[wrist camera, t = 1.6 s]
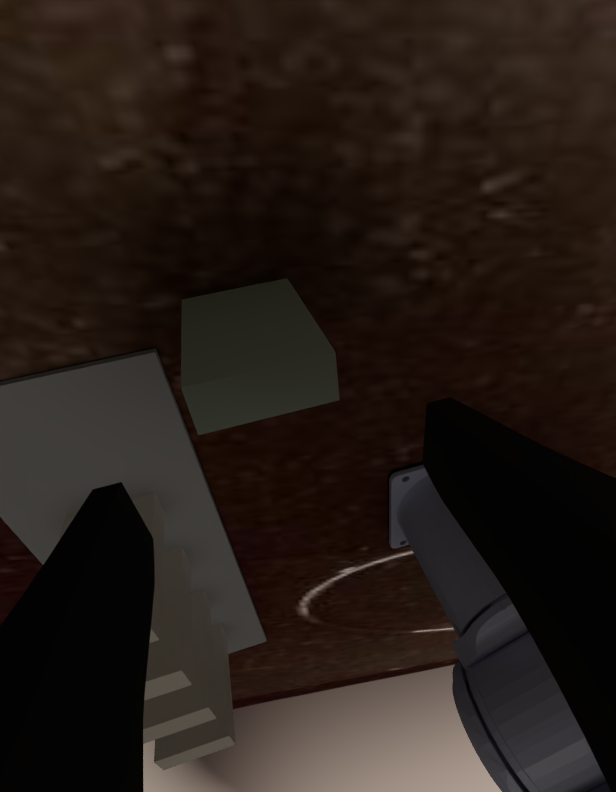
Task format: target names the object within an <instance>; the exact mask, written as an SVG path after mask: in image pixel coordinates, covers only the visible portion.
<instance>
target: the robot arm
mask: <svg viewBox="0 0 616 792" xmlns="http://www.w3.org/2000/svg"><path fill="white" fill-rule="evenodd" d="M389 544H390V546H391V548H399V547H402V546H405V545H410V547H411V549H412V551H413V552H414V554H415V556H416V558H417V560H418V562H419V564H420V566H421V568H422V569H423V571H424V573H425V575H426V577H427V579H428V581H429V583H430V585H431V586H432V588H433V590H434V592H435V594H436V596H437V598H438V600H439V601H440V603H441V605H442V607H443V609H444V611H445V613H446V615H447V617H448V618H449V620H450V622H451V624H452V626H453V628H454V630H455V632H456V633H457V635H458V637H459V639H458V640H456V641H455V642H453V643H452V646H453V648H454V650H455V652H456V654H457V656H458V658H459V660H460V662H458V663H456V665H455V666H454V668H453V695H454V700H455V704H456V707H457V710H458V713H459V716H460V719H461V721H462V724H463V726H464V728H465V730H466V733H467V735H468V737H469V739H470V741H471V743H472V745H473V747H474V749H475V751H476V753H477V754H478V756H479V757H480V760H481V761H482V763H483V765H484V766H485V768H486V769H487V771H488V773H489V774H490V776H491V777H492V778H493V780H494V781H495V783H496V784H497V785H498V787H499V788H500V789H501V791H502V792H616V478H614V477H611V476H609V475H607V474H604V473H602V472H600V471H597V470H595V469H593V468H590V467H588V466H586V465H584V464H582V463H579V462H577V461H575V460H573V459H571V458H568V457H566V456H564V455H562V454H560V453H558V452H556V451H554V450H551V449H549V448H547V447H545V446H543V445H541V444H539V443H537V442H535V441H533V440H531V439H529V438H527V437H525V436H523V435H521V434H519V433H518V432H516V431H514V430H512V429H510V428H508V427H506V426H504V425H502V424H500V423H499V422H497V421H495V420H493V419H491V418H489V417H487V416H485V415H484V414H482V413H480V412H478V411H476V410H474V409H472V408H470V407H468V406H466V405H465V404H463V403H461V402H459V401H457V400H455V399H452V398H450V397H449V398H446V399H442V400H438V401H434V402H430V403H427V408H426V422H425V436H424V449H423V465H420V466H416V467H413V468H409V469H405V470H402V471H398V472H395V473H393V474H392V475H391V476H390V479H389ZM154 587H155V566H154V541H153V537H152V535H151V533H150V532H149V530H148V528H147V526H146V525H145V523H144V521H143V519H142V517H141V516H140V514H139V512H138V510H137V509H136V507H135V505H134V503H133V501H132V500H131V498H130V496H129V494H128V493H127V491H126V489H125V487H124V486H123V484H122V482H119V483H116V484H112V485H108V486H104V487H100V488H96V489H93V490H92V491H91V493H90V494H89V496H88V497H87V499H86V500H85V502H84V503H83V505H82V506H81V508H80V509H79V511H78V512H77V514H76V515H75V517H74V519H73V520H72V522H71V523H70V525H69V526H68V528H67V529H66V531H65V533H64V534H63V536H62V537H61V539H60V540H59V542H58V543H57V545H56V546H55V548H54V550H53V551H52V553H51V554H50V556H49V557H48V559H47V560H46V562H45V563H44V565H43V566H42V568H41V569H40V570H39V572H38V573H37V575H36V576H35V578H34V579H33V581H32V582H31V584H30V585H29V587H28V588H27V590H26V591H25V593H24V594H23V596H22V597H21V598H20V600H19V601H18V602H17V604H16V605H15V607H14V608H13V609H12V611H11V612H10V613H9V615H8V616H7V618H6V619H5V620H4V622H3V623H2V625H1V626H0V792H143V714H144V697H145V685H146V674H147V664H148V653H149V643H150V632H151V622H152V610H153V599H154Z"/></svg>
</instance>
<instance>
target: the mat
mask: <svg viewBox="0 0 616 792" xmlns="http://www.w3.org/2000/svg"><path fill="white" fill-rule="evenodd" d="M119 482H122V484H123V486H124V487H125V489H126V491H127V493H128V494H129V496H130V498H131V499H132V498H135V497H139V496H143V495H147V494H150V493H154V492H155V494H156V496H157V498H158V500H159V502H160V504H161V506H162V508H163V510H164V512H165V532H164V551H167V550H171V549H174V548H178V547H181V546H182V547H183V549H184V551H185V553H186V555H187V557H188V559H189V561H190V578H191V593H192V592H195V591H198V590H202V589H204V591H205V593H206V595H207V597H208V599H209V601H210V609H211V626H215V625H218V624H221V625H222V627H223V629H224V631H225V633H226V636H227V648H228V654H229V653H232V652H235V651H238V650H241V649H244V648H247V647H250V646H254V645H257V644H260V643H263V642H266V641H267V640H266V635H265V632H264V630H263V627H262V625H261V622H260V619H259V617H258V614H257V612H256V609H255V606H254V604H253V601H252V598H251V596H250V593H249V591H248V588H247V585H246V583H245V580H244V578H243V575H242V572H241V570H240V567H239V564H238V562H237V559H236V557H235V554H234V551H233V549H232V546H231V544H230V541H229V538H228V536H227V533H226V530H225V528H224V525H223V523H222V520H221V517H220V515H219V512H218V510H217V507H216V504H215V502H214V499H213V496H212V494H211V491H210V489H209V486H208V483H207V481H206V478H205V476H204V473H203V470H202V468H201V465H200V462H199V460H198V457H197V455H196V452H195V449H194V447H193V444H192V442H191V439H190V436H189V434H188V431H187V428H186V426H185V423H184V421H183V418H182V415H181V413H180V410H179V408H178V405H177V402H176V400H175V397H174V394H173V392H172V389H171V387H170V384H169V381H168V379H167V376H166V374H165V371H164V368H163V366H162V363H161V360H160V358H159V355H158V353H157V350H156V348H154V349H149V350H144V351H140V352H135V353H130V354H126V355H121V356H117V357H112V358H107V359H103V360H98V361H93V362H89V363H84V364H80V365H75V366H70V367H66V368H61V369H56V370H52V371H47V372H43V373H38V374H33V375H29V376H24V377H19V378H15V379H10V380H6V381H1V382H0V517H1V518H2V519H3V520H4V522H5V523H6V524H7V525H8V526H9V527H10V528H11V529H12V531H13V532H14V533H15V534H16V535H17V536H18V537H19V538H20V540H21V541H22V542H23V543H24V544H25V545H26V546H27V547H28V549H29V550H30V551H31V552H32V553H33V554H34V555H35V556H36V558H37V559H38V560H39V561H40V562H41V563H42V564H43V565H44V563H45V562H46V560H47V559H48V557H49V556H50V554H51V553H52V551H53V550H54V548H55V546H56V545H57V543H58V542H59V539H60V536H61V532H62V529H63V525H64V522H65V519H66V516H67V515H71V514H75V513H77V512H78V511H79V509H80V508H81V506H82V505H83V503H84V502H85V500H86V499H87V497H88V496H89V494H90V493H91V491H92V490H93V489H96V488H100V487H104V486H108V485H112V484H116V483H119Z"/></svg>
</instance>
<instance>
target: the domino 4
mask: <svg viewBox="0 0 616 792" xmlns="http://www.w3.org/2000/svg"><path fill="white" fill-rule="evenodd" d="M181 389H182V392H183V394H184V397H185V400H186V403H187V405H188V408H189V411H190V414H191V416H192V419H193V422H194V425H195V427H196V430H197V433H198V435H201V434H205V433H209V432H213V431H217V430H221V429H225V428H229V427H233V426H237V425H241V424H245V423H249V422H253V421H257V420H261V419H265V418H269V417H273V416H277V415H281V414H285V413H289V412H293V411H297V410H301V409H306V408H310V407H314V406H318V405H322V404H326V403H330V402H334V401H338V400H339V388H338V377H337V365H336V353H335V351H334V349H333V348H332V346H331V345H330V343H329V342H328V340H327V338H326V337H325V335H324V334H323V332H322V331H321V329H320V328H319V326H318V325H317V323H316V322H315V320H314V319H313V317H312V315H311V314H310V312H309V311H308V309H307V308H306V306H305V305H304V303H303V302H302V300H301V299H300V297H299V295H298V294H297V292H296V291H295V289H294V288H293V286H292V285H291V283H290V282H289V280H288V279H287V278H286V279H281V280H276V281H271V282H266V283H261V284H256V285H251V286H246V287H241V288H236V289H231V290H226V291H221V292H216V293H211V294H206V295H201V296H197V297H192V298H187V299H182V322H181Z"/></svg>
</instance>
